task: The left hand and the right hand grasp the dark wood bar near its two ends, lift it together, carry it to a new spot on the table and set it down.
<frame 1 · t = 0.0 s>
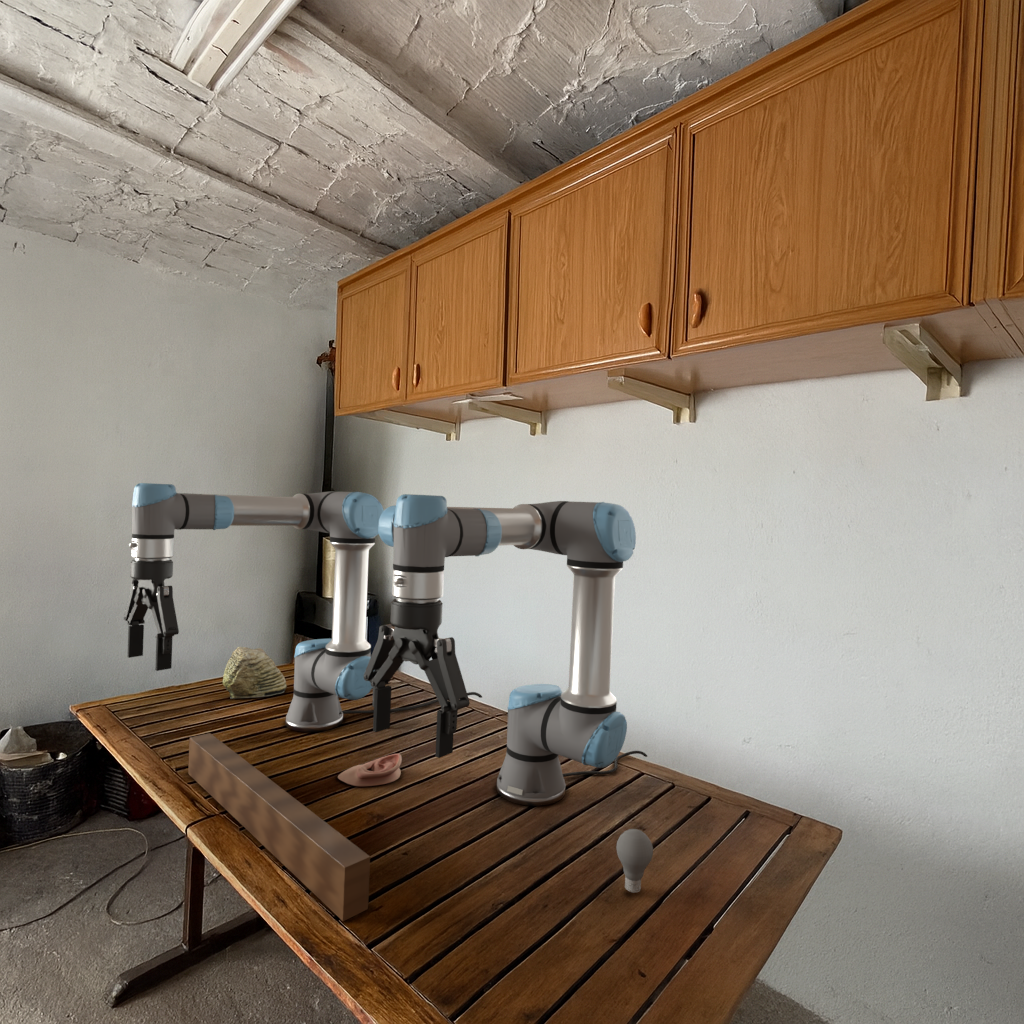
left hand: (148, 662, 129), 28 cm above the table, tool pointing down, fingers open, 13 cm apart
right hand: (411, 741, 94), 28 cm above the table, tool pointing down, fingers open, 13 cm apart
light bulb: (632, 891, 106), on the table
anatomical model: (370, 776, 144), on the table
bar: (261, 829, 120), on the table
fossil: (254, 694, 198), on the table
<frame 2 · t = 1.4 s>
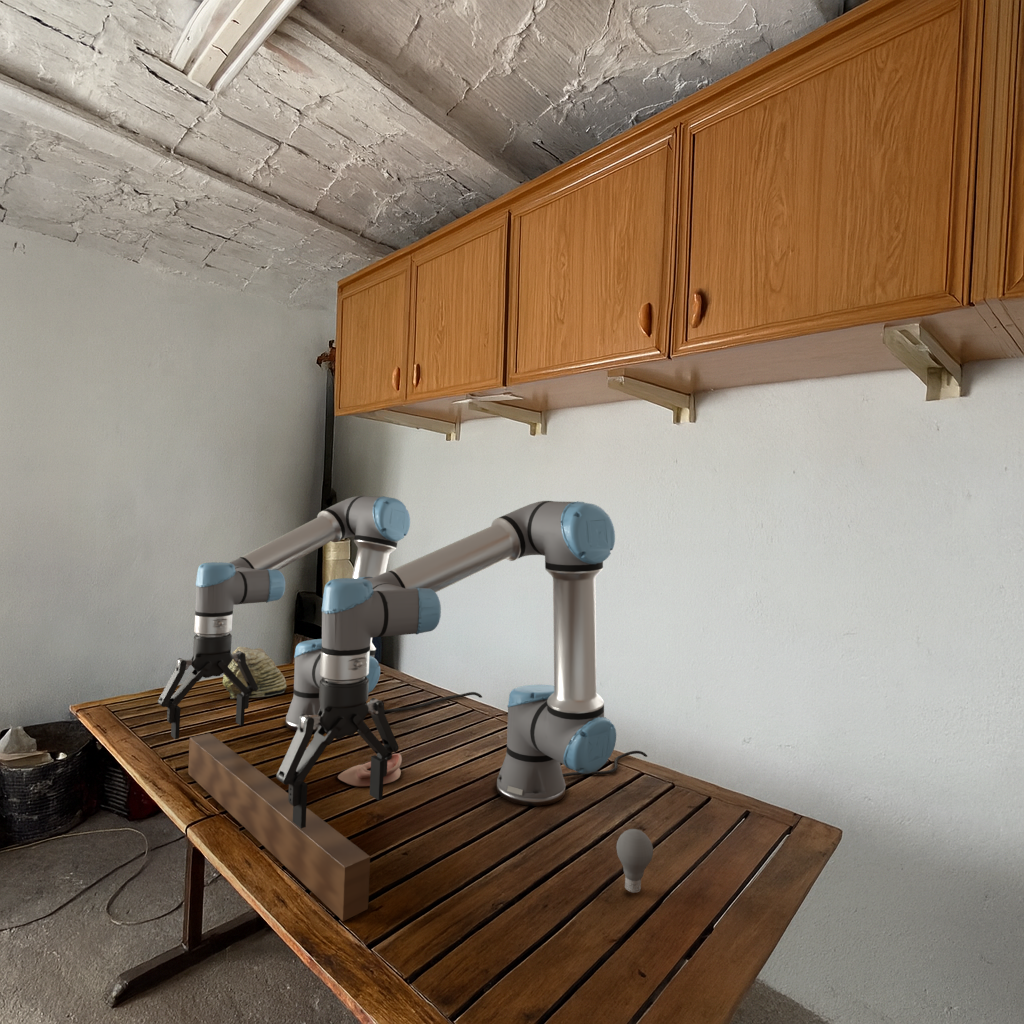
left hand: (208, 730, 139), 11 cm above the table, tool pointing down, fingers open, 13 cm apart
right hand: (339, 810, 101), 14 cm above the table, tool pointing down, fingers open, 13 cm apart
nothing on the table moved.
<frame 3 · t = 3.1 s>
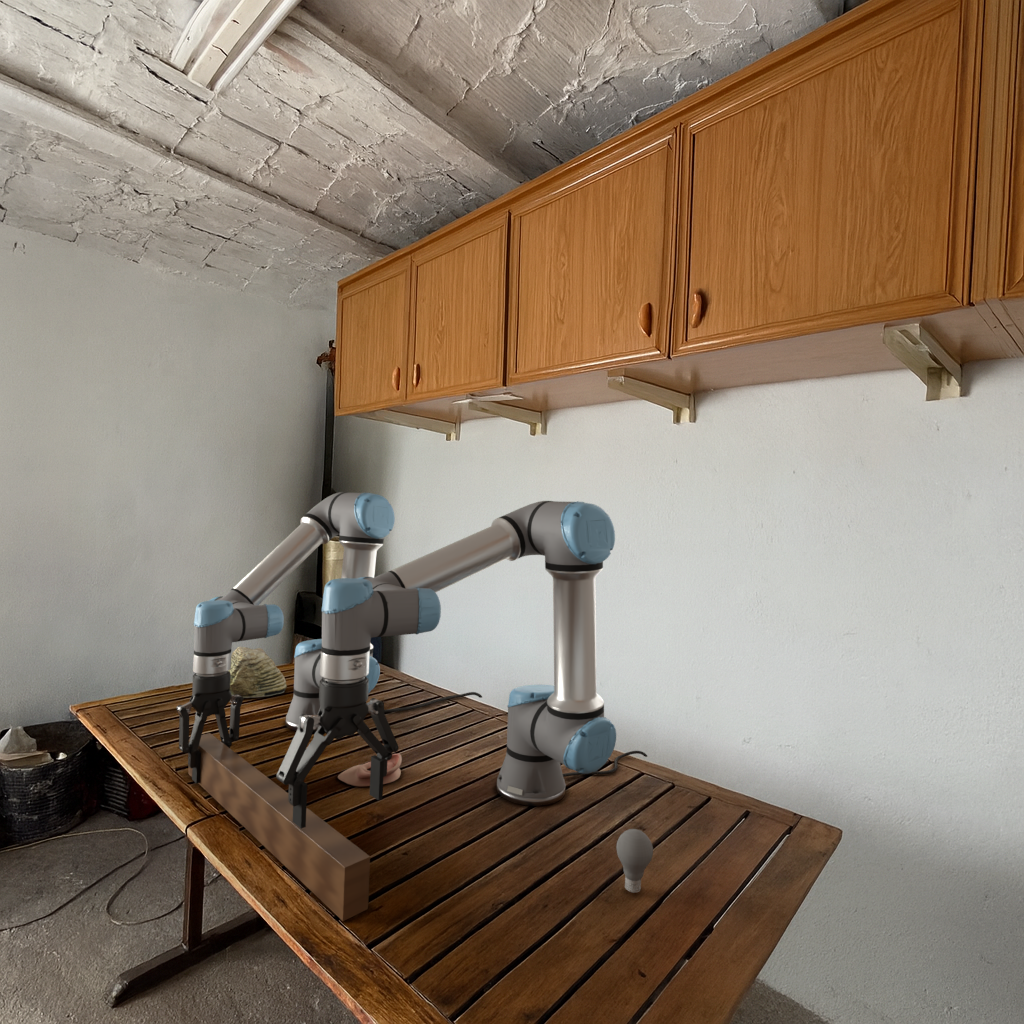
left hand: (208, 777, 139), 1 cm above the table, tool pointing down, fingers closed on bar, 4 cm apart
right hand: (339, 810, 101), 14 cm above the table, tool pointing down, fingers open, 13 cm apart
bar: (261, 829, 120), on the table, touching left hand
everything else where it was.
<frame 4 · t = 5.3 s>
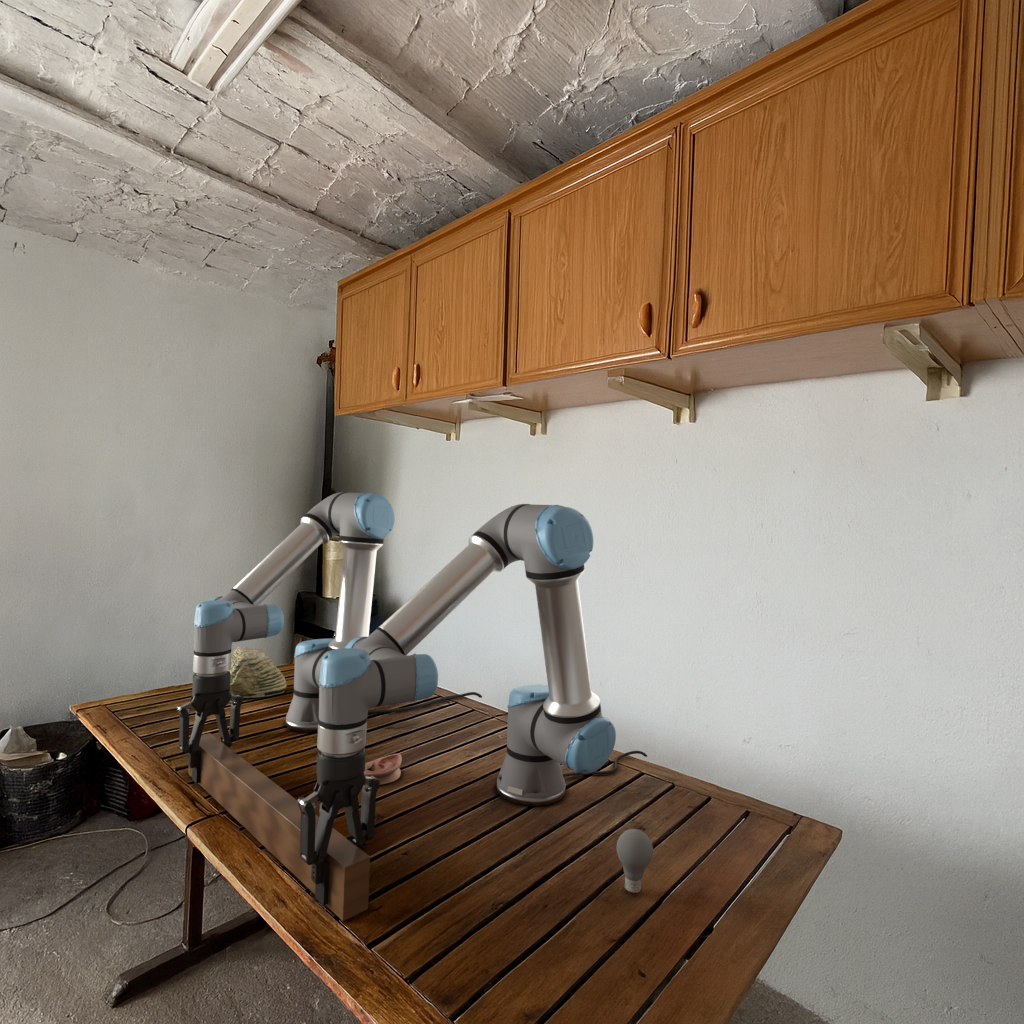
left hand: (208, 777, 139), 1 cm above the table, tool pointing down, fingers closed on bar, 4 cm apart
right hand: (336, 893, 101), 1 cm above the table, tool pointing down, fingers closed on bar, 4 cm apart
bar: (261, 829, 120), on the table, touching left hand, right hand
everything else where it was.
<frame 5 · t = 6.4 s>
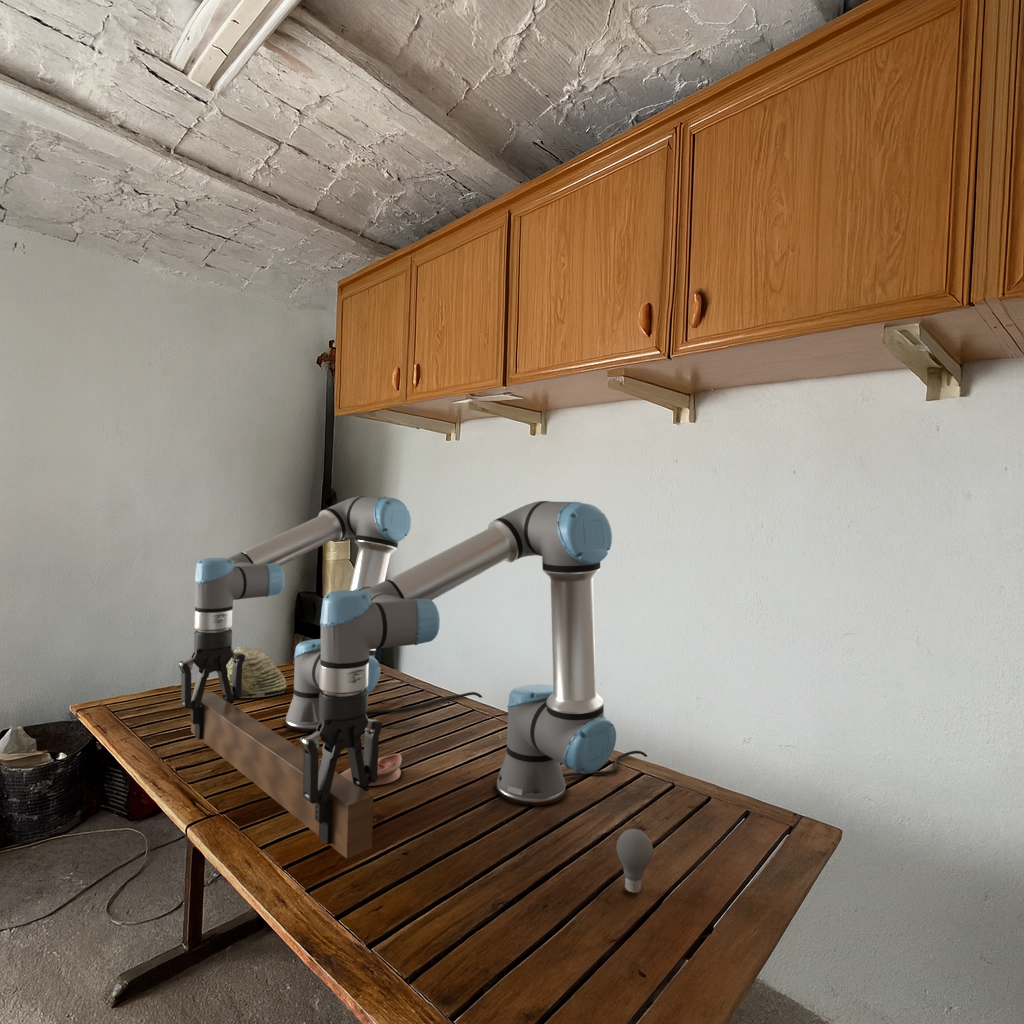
left hand: (211, 734, 139), 10 cm above the table, tool pointing down, fingers closed on bar, 4 cm apart
right hand: (339, 834, 101), 10 cm above the table, tool pointing down, fingers closed on bar, 4 cm apart
bar: (265, 779, 120), point 9 cm above the table, touching left hand, right hand
everything else where it was.
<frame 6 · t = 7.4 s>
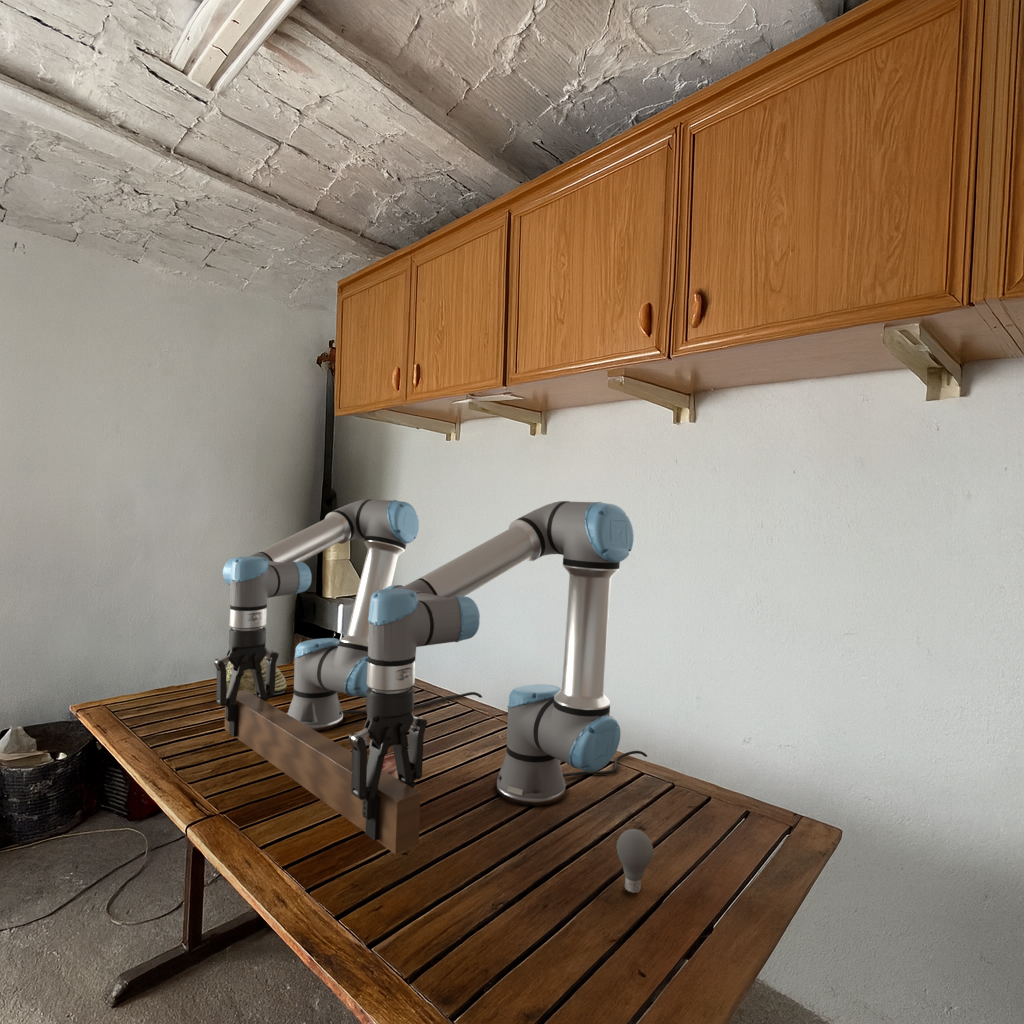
left hand: (245, 731, 140), 11 cm above the table, tool pointing down, fingers closed on bar, 4 cm apart
right hand: (386, 830, 102), 10 cm above the table, tool pointing down, fingers closed on bar, 4 cm apart
bar: (304, 776, 121), point 10 cm above the table, touching left hand, right hand
everything else where it was.
when the left hand's fingers open (2 cm above the table, at t = 9.7 s): bar drops 2 cm, on the table.
when the right hand's fingers open (2 cm above the table, at t = 9.7 s): bar drops 2 cm, on the table.
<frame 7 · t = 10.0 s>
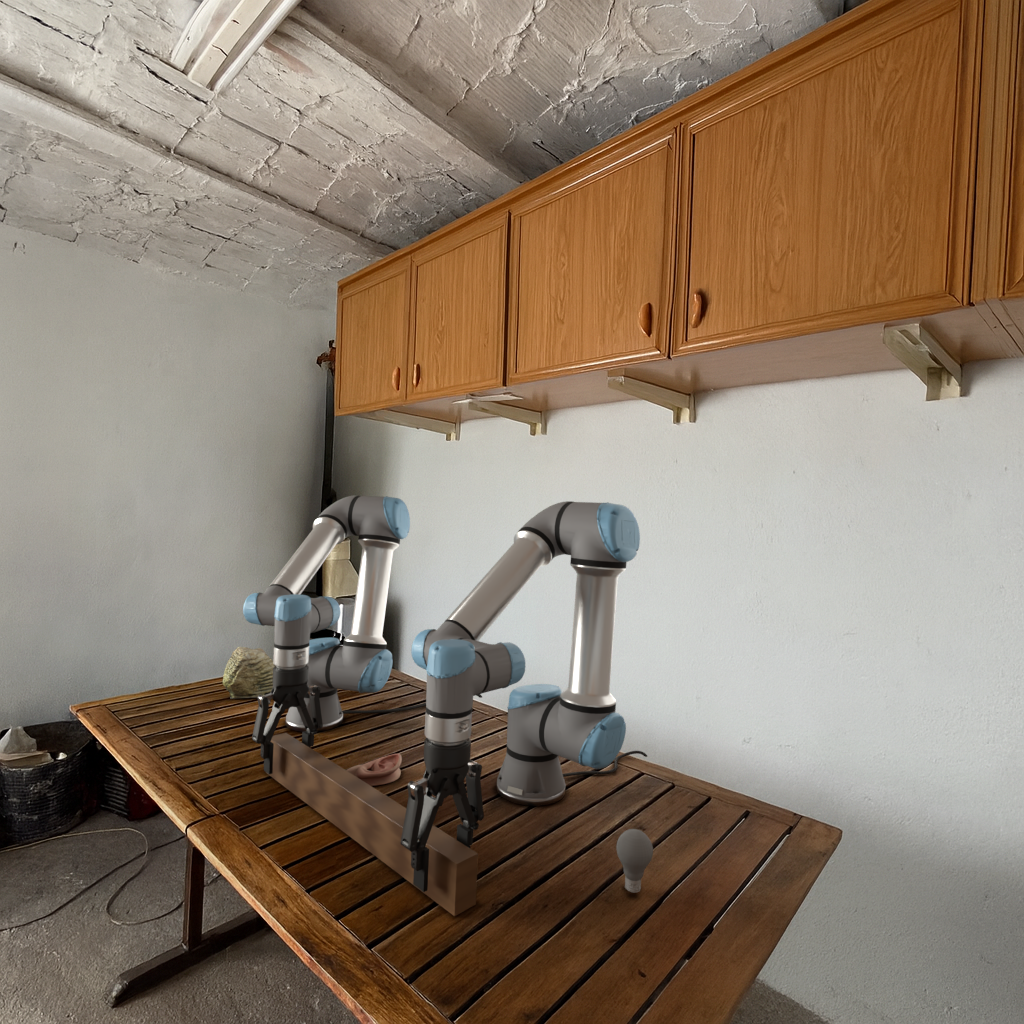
left hand: (287, 766, 141), 3 cm above the table, tool pointing down, fingers open, 8 cm apart
right hand: (442, 876, 103), 3 cm above the table, tool pointing down, fingers open, 8 cm apart
bar: (352, 827, 122), on the table
everything else where it was.
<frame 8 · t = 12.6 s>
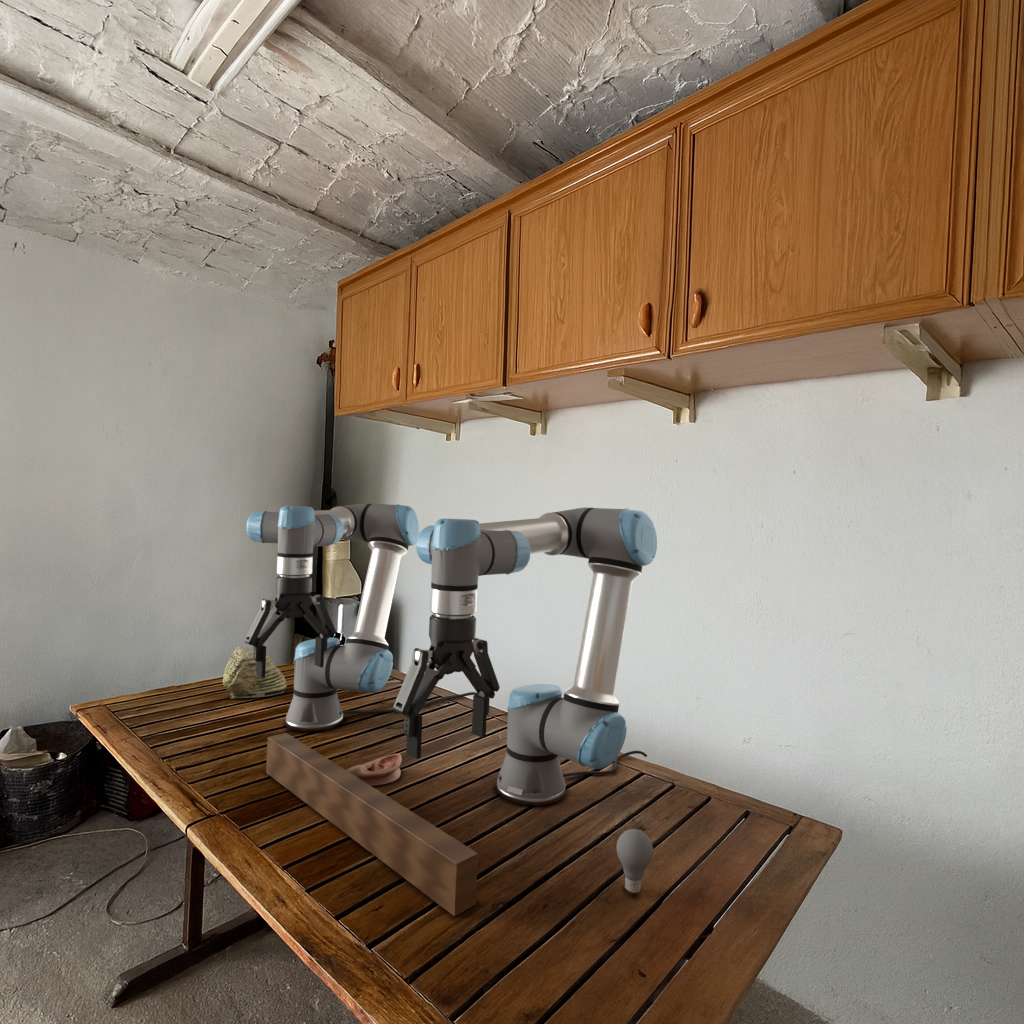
left hand: (290, 670, 141), 24 cm above the table, tool pointing down, fingers open, 13 cm apart
right hand: (447, 745, 102), 24 cm above the table, tool pointing down, fingers open, 13 cm apart
nothing on the table moved.
at the end: bar inside the target area (0.2 cm from its centre), on the table; bar tilted 0°; bar never tilted more than 2° during the clip; both hands held the bar at the same time; the left hand is holding nothing; the right hand is holding nothing; bar at rest at the end (0.0 cm/s) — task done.
